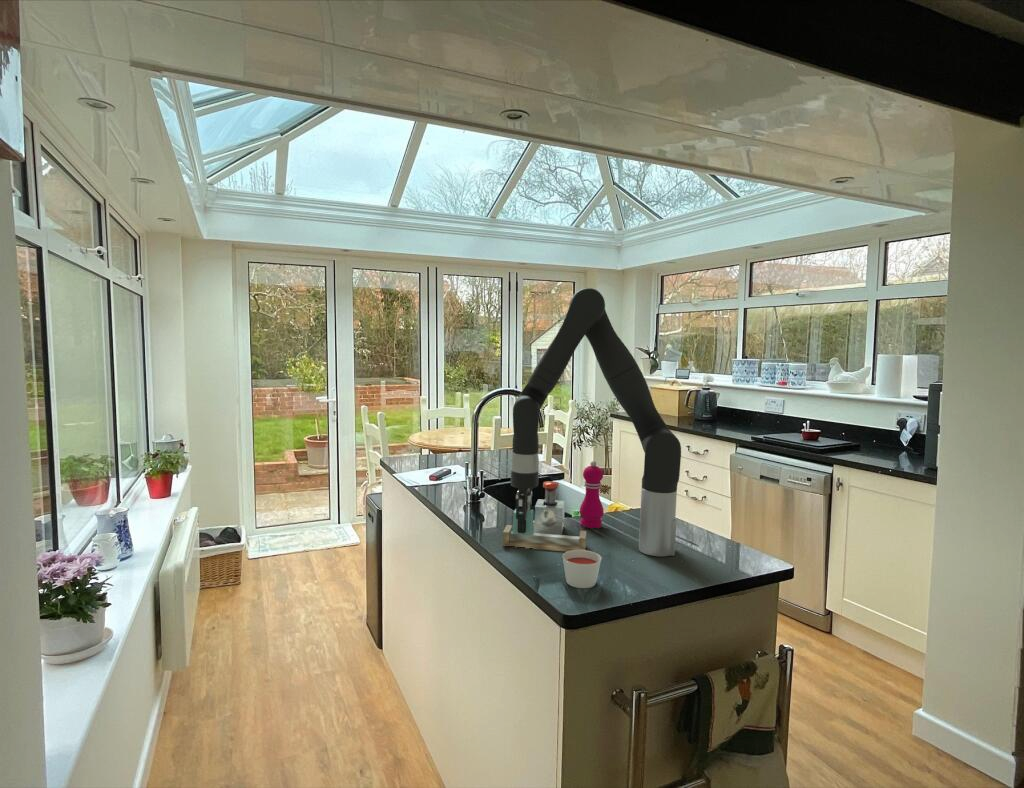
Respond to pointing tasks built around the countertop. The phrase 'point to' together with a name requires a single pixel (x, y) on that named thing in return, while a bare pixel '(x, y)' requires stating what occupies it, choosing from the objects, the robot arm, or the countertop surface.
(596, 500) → the pepper mill
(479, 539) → the countertop surface
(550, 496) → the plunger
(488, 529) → the countertop surface
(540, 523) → the gauge cabinet
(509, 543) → the rail
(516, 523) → the teal block
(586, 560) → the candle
